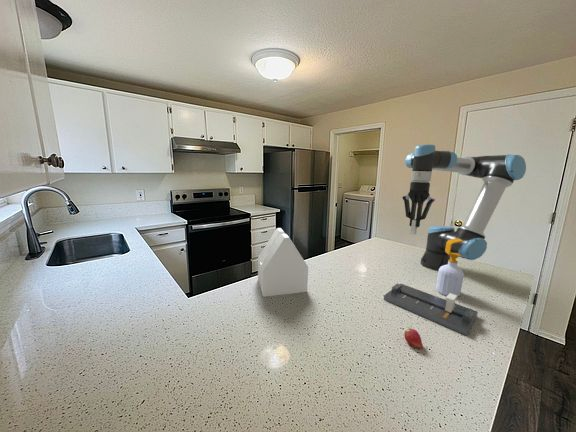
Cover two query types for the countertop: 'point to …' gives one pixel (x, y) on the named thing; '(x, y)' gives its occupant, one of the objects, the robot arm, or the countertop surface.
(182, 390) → the countertop surface
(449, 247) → the soap bottle
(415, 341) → the fruit
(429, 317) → the console
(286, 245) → the white toy house
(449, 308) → the fader
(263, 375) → the countertop surface
